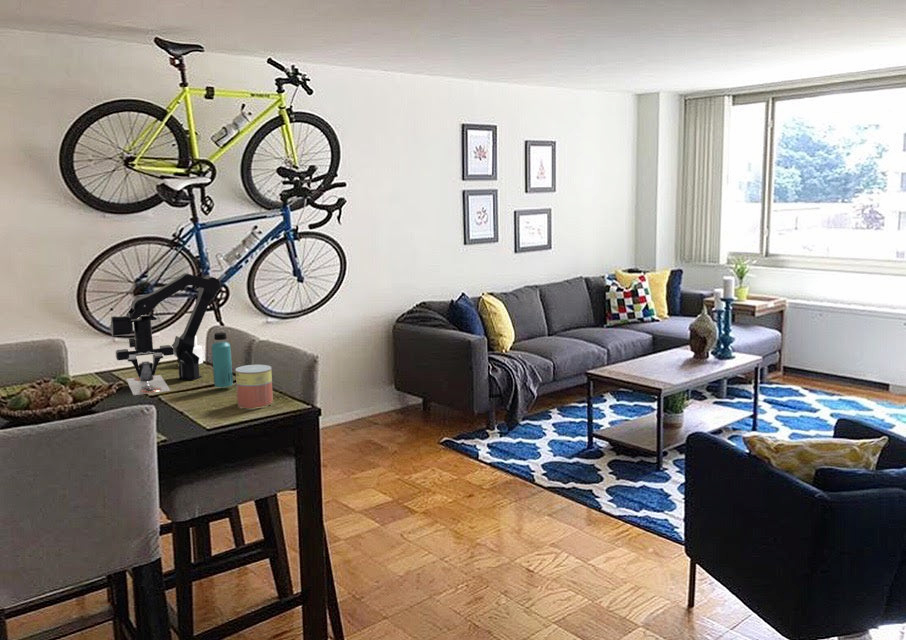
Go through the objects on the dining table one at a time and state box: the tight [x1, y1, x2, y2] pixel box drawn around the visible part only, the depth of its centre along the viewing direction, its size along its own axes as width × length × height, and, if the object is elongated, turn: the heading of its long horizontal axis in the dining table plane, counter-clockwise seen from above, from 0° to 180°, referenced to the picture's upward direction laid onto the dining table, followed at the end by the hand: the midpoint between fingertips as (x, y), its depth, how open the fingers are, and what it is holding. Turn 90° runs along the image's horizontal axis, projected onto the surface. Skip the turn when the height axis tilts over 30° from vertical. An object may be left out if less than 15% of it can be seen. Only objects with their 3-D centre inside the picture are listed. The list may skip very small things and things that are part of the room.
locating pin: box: [138, 360, 154, 381], centre depth 273 cm, size 4×4×7 cm
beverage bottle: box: [211, 332, 234, 388], centre depth 265 cm, size 6×7×20 cm
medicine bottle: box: [176, 335, 204, 366], centre depth 304 cm, size 7×7×12 cm
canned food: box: [235, 363, 274, 409], centre depth 246 cm, size 11×11×12 cm
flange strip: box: [125, 374, 171, 396], centre depth 274 cm, size 26×12×2 cm, turn 28°
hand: (146, 376), depth 274 cm, fingers closed on locating pin, 4 cm apart
